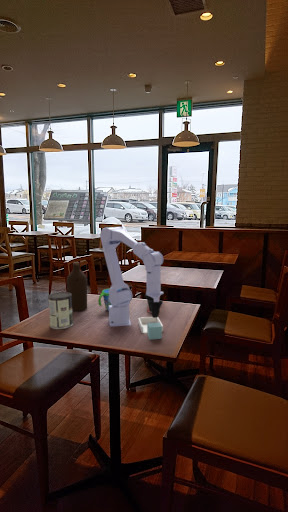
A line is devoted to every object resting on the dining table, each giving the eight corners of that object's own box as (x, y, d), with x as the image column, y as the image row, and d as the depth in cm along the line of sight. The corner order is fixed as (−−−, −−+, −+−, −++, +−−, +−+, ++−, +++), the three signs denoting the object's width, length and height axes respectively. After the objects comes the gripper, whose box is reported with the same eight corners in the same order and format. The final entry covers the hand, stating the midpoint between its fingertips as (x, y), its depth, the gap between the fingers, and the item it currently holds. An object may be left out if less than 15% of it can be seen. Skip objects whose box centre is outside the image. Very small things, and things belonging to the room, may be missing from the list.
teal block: (149, 339, 123) (149, 327, 123) (147, 334, 128) (147, 323, 128) (161, 338, 124) (161, 326, 123) (159, 333, 129) (159, 322, 128)
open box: (141, 334, 130) (141, 327, 130) (138, 324, 142) (138, 317, 141) (163, 332, 131) (163, 325, 131) (157, 322, 143) (157, 316, 143)
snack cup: (102, 314, 155) (102, 294, 154) (95, 309, 165) (94, 290, 163) (130, 309, 163) (130, 290, 162) (121, 304, 172) (121, 286, 171)
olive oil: (92, 309, 165) (90, 262, 161) (74, 313, 158) (72, 264, 154) (81, 304, 173) (79, 260, 169) (64, 309, 166) (61, 262, 162)
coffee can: (62, 319, 149) (61, 290, 147) (77, 323, 143) (76, 293, 141) (44, 326, 141) (43, 295, 139) (60, 331, 135) (58, 299, 133)
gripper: (166, 285, 120) (166, 319, 122) (160, 277, 135) (160, 308, 136) (148, 286, 119) (148, 320, 121) (143, 278, 134) (144, 309, 136)
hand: (153, 314), depth 129 cm, fingers open, 7 cm apart
